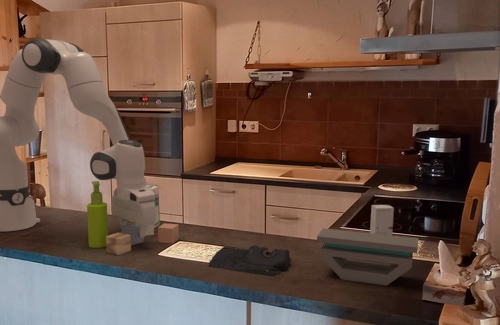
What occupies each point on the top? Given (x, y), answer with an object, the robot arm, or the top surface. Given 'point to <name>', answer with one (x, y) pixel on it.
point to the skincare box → (381, 219)
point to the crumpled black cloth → (251, 260)
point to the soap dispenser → (97, 219)
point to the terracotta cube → (168, 233)
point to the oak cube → (118, 243)
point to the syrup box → (156, 203)
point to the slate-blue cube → (132, 233)
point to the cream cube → (149, 230)
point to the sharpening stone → (367, 255)
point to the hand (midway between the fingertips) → (133, 233)
